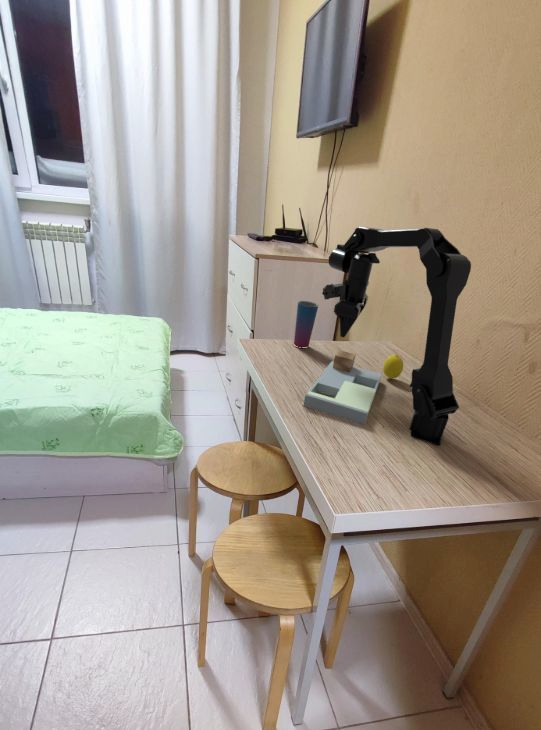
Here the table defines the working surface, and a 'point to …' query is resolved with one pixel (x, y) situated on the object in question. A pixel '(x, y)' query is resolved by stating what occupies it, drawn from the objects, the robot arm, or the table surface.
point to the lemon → (393, 366)
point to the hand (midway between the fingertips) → (345, 332)
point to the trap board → (344, 393)
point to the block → (344, 361)
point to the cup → (304, 322)
